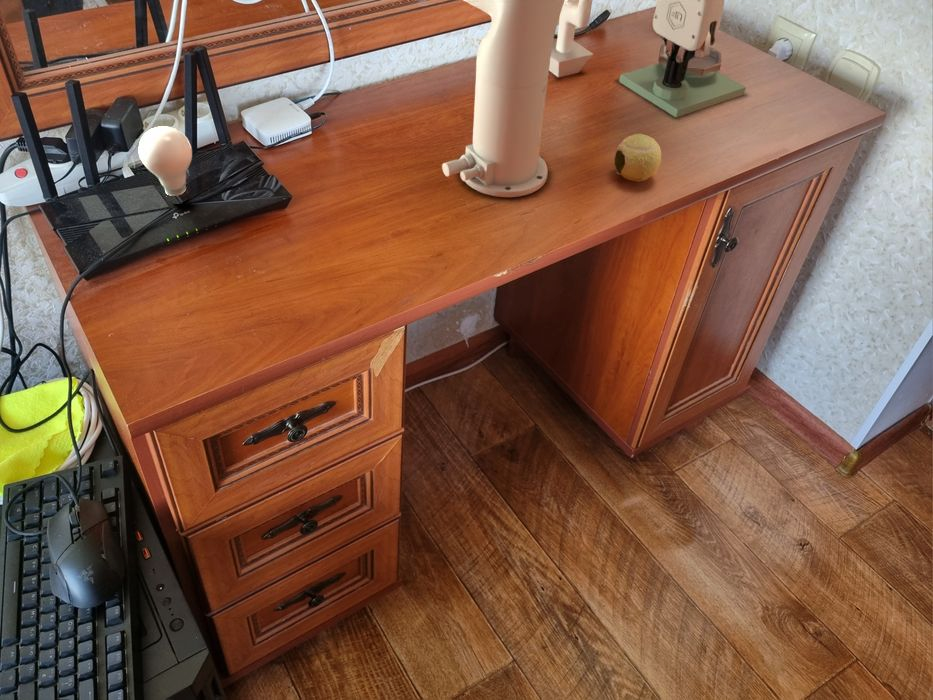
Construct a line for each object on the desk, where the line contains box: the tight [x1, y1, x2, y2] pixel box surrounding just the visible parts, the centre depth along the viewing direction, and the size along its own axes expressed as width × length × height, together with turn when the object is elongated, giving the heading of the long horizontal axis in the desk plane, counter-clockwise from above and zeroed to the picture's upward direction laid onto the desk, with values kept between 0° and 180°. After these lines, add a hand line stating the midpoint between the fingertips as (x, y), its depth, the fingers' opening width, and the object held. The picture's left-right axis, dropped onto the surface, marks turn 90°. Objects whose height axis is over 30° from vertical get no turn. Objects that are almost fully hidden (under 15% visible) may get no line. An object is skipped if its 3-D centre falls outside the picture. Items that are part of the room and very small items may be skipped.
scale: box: [618, 62, 747, 118], centre depth 134 cm, size 16×14×3 cm
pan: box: [658, 43, 722, 78], centre depth 134 cm, size 10×10×2 cm
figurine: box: [549, 0, 594, 78], centre depth 132 cm, size 7×9×15 cm
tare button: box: [664, 81, 680, 88], centre depth 130 cm, size 3×3×2 cm
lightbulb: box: [138, 125, 193, 196], centre depth 102 cm, size 6×6×11 cm
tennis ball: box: [613, 133, 662, 183], centre depth 112 cm, size 6×7×7 cm
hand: (673, 81), depth 129 cm, fingers closed
